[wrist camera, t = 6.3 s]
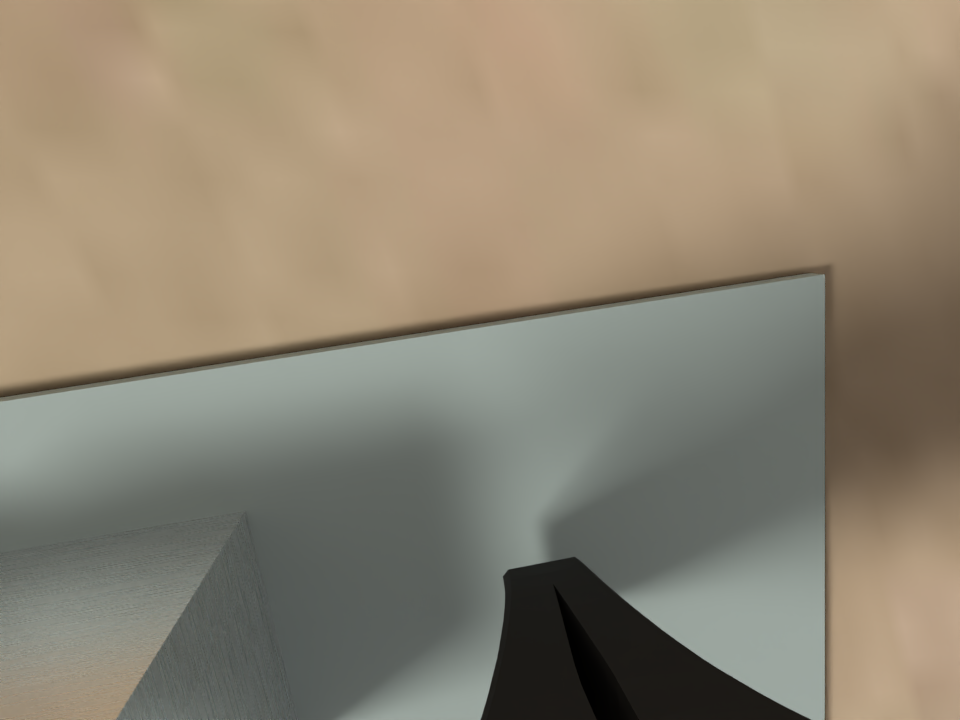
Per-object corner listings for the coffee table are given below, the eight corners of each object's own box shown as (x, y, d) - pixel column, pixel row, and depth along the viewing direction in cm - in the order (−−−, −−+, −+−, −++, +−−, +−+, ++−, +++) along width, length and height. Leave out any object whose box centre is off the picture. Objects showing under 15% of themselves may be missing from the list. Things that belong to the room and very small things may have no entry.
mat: (809, 272, 11) (824, 274, 10) (813, 782, 13) (824, 798, 13) (-494, 473, 9) (-534, 484, 9) (-191, 1008, 12) (-212, 1035, 11)
